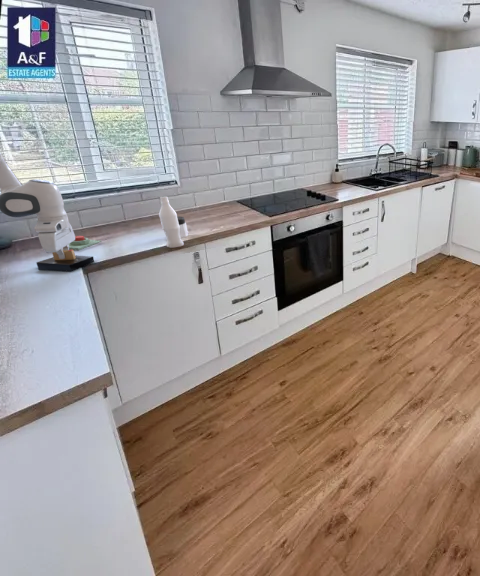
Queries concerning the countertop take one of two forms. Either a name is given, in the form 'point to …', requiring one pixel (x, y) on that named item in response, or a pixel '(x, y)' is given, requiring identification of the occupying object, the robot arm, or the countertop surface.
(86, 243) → the button block
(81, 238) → the button
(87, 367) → the countertop surface
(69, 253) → the handle
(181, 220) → the jar
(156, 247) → the countertop surface
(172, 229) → the water bottle
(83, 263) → the panel
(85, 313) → the countertop surface
